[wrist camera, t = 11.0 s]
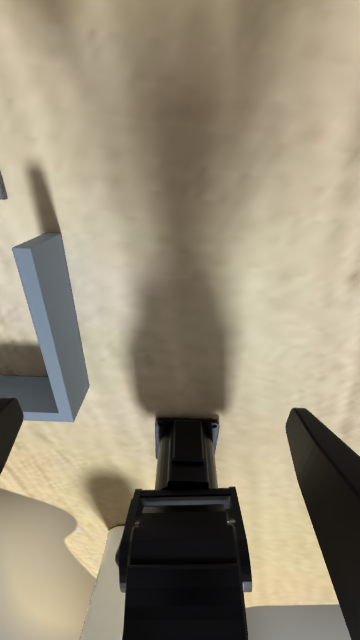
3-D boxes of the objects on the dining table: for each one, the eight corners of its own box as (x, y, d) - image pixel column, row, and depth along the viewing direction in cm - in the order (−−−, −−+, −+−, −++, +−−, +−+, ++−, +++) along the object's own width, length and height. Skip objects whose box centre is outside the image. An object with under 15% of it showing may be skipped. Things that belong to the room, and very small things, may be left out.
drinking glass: (127, 516, 37) (97, 704, 24) (157, 534, 40) (144, 711, 27) (94, 529, 39) (49, 707, 26) (124, 545, 42) (97, 714, 29)
